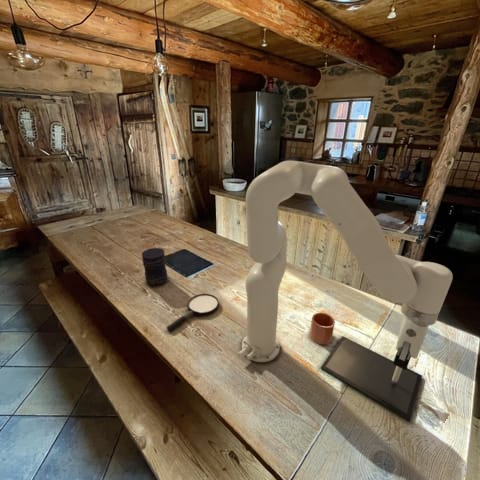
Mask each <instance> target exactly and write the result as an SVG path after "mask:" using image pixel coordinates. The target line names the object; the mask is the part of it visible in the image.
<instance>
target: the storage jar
mask: <svg viewBox="0 0 480 480" xmlns="http://www.w3.org/2000/svg"><path fill="white" fill-rule="evenodd" d="M141 258H142V260H141V261H142V266H143V267H144V279H145V281H146V285H147V286H149V287H152V288H157V287H161V286H163V285H165V284H167V282H168V269H167V267H166V256H165V250H164V249H162V248H159V247H153V248H147V249H145V250H144V251H142V253H141Z"/></svg>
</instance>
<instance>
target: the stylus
mask: <svg viewBox="0 0 480 480" xmlns="http://www.w3.org/2000/svg"><path fill="white" fill-rule="evenodd" d="M407 354H408V353H407ZM401 371H402V368H400V367H398V366H396V369H395V372H394V375H393V378H392V381H391V382H392V384H394V385H396V384H397V382H398V379H399V376H400V374H401Z"/></svg>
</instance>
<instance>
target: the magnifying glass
mask: <svg viewBox="0 0 480 480" xmlns="http://www.w3.org/2000/svg"><path fill="white" fill-rule="evenodd" d="M219 305H220V304H219V299H218V297H216V296H215V295H213V294H210V293H200V294H196V295H194V296H192V297H191V298H190V299H188V301H187V310H188V312H187V313H185V314H184V315H182V316H180V317H179V318H177V319H176V320H174V321H173V322H172V323H170V324H169V325H167V326H166V330H167V331H168V332H169V333H172V332H173V331H174V330H175V329H177V328H178V327H179V326H180V325H182V324H183V323H185V322H187V320H188V319H189V318H190V317H192V316H195V317H206V316H210V315H212V314H214V313H215V312H217V310H218V309H219Z"/></svg>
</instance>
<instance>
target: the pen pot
mask: <svg viewBox="0 0 480 480" xmlns="http://www.w3.org/2000/svg"><path fill="white" fill-rule="evenodd" d="M335 325H336V321H335V318H334V317H333V316H331V315H330V314H328V313H326V312H316V313H314V314H313V315H312V317H311V321H310V330H309V337H310V339H311V340H312V341H313V342H314V343H316V344H318V345H328V344H330V343H332V339H333V335H334V330H335Z"/></svg>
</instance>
